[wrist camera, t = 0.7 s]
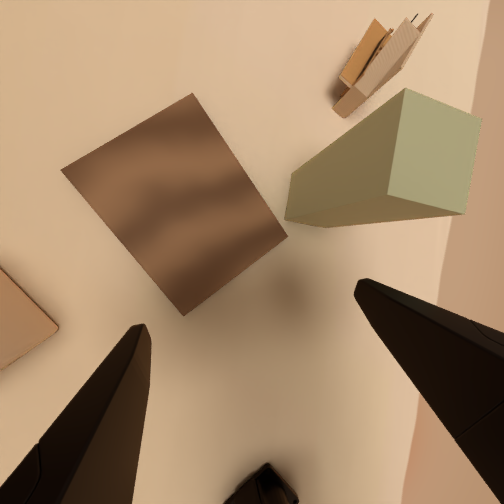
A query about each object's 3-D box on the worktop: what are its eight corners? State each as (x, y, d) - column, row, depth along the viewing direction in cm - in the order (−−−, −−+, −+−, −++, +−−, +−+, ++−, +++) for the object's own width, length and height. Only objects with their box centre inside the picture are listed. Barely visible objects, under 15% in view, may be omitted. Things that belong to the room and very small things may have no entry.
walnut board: (285, 236, 23) (288, 236, 22) (184, 313, 21) (183, 316, 20) (193, 98, 20) (192, 92, 19) (66, 172, 18) (60, 170, 17)
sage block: (325, 227, 24) (465, 214, 11) (284, 219, 23) (387, 194, 10) (332, 183, 24) (482, 118, 11) (291, 173, 22) (405, 87, 10)
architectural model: (318, 102, 23) (370, 39, 16) (348, 52, 24) (412, -31, 16) (341, 122, 24) (401, 70, 17) (370, 73, 24) (440, 3, 17)
